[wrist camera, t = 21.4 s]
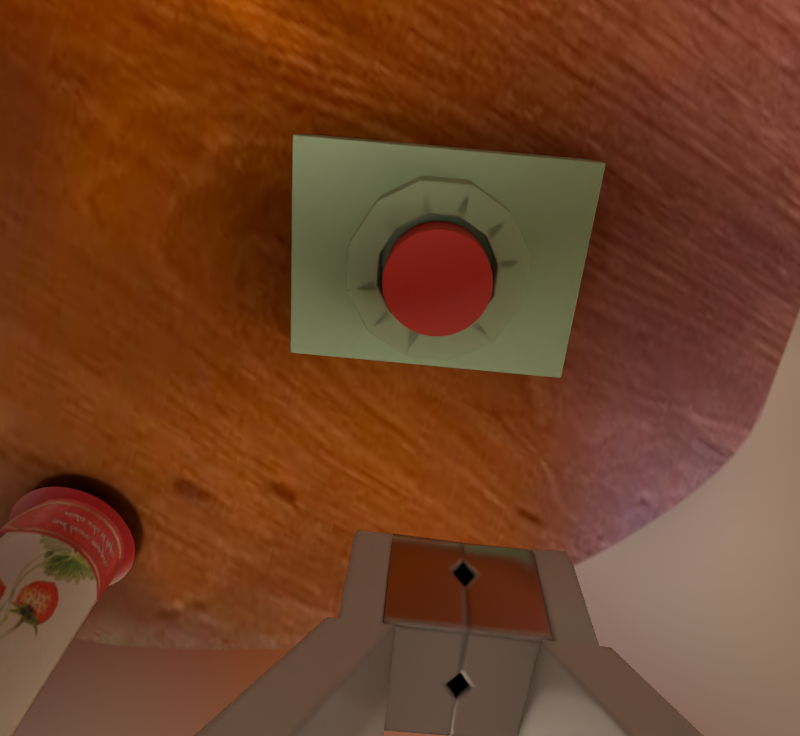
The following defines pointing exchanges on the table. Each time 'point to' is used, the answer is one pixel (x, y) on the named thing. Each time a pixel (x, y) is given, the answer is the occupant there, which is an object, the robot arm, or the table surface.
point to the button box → (450, 202)
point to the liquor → (51, 585)
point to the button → (437, 279)
